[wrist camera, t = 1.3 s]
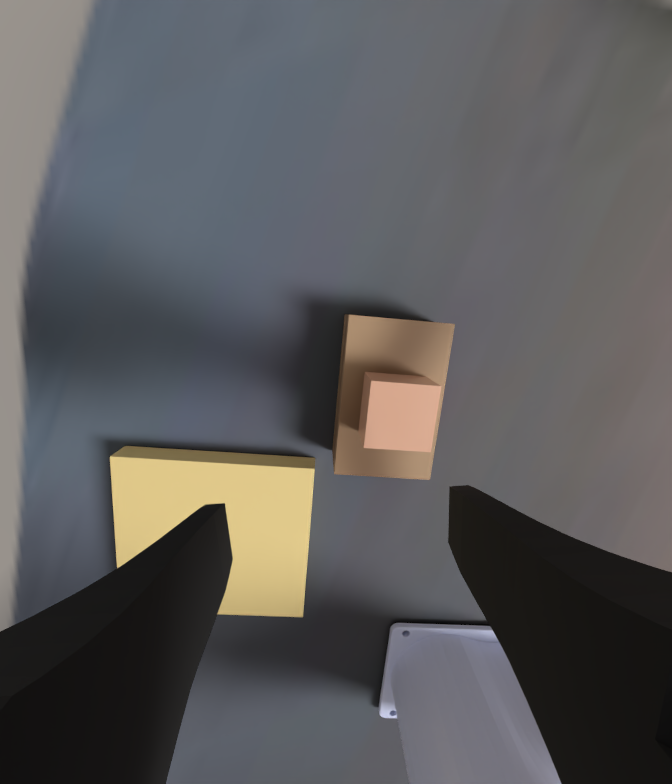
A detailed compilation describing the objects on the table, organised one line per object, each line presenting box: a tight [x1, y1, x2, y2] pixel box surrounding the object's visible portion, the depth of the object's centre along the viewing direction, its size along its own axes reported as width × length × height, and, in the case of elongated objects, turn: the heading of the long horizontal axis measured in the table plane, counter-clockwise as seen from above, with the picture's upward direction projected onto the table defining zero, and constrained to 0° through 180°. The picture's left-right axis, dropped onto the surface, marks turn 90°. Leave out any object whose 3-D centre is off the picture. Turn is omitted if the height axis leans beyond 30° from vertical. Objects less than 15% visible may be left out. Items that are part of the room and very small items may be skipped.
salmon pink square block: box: [358, 372, 441, 452], centre depth 16 cm, size 3×3×2 cm
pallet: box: [332, 314, 455, 480], centre depth 18 cm, size 5×8×3 cm, turn 175°
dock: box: [110, 446, 315, 617], centre depth 21 cm, size 11×10×2 cm
